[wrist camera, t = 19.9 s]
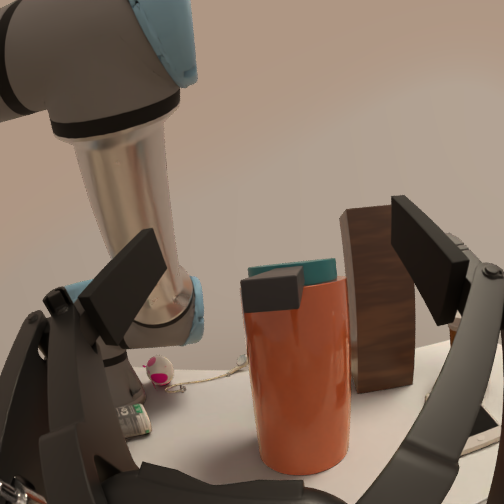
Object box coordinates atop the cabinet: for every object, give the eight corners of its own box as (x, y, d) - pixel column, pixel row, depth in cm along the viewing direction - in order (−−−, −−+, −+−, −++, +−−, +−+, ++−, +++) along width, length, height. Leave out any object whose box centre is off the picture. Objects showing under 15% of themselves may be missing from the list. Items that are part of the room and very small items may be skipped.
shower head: (158, 374, 49) (235, 351, 63) (162, 390, 49) (237, 364, 63) (170, 381, 46) (251, 354, 59) (174, 398, 45) (253, 368, 59)
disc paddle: (258, 282, 34) (256, 266, 34) (333, 274, 32) (331, 257, 32) (178, 321, 13) (173, 280, 13) (373, 306, 11) (370, 260, 11)
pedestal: (241, 451, 29) (218, 289, 29) (299, 417, 36) (289, 277, 36) (309, 488, 20) (300, 290, 21) (365, 437, 27) (365, 273, 28)
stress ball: (132, 382, 45) (166, 387, 46) (140, 347, 51) (172, 350, 52) (143, 395, 50) (173, 400, 50) (149, 363, 56) (178, 367, 57)
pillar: (412, 384, 38) (405, 203, 39) (357, 394, 40) (345, 209, 41) (397, 364, 48) (388, 212, 49) (350, 371, 50) (339, 217, 51)
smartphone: (456, 457, 17) (458, 451, 17) (424, 398, 32) (424, 393, 32) (505, 438, 15) (507, 432, 15) (462, 389, 30) (463, 383, 30)
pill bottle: (146, 407, 32) (89, 418, 27) (155, 436, 32) (100, 448, 26) (138, 399, 36) (88, 408, 31) (147, 426, 35) (97, 436, 30)
